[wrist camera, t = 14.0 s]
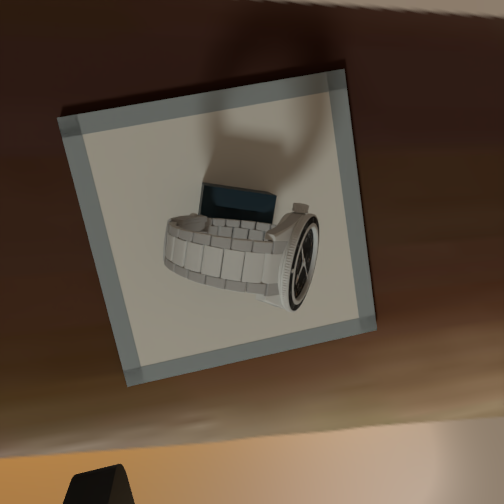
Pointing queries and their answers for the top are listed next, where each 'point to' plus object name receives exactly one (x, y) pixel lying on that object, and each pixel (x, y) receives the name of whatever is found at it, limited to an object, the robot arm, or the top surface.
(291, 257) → the watch
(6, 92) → the top surface
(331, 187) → the mat
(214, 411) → the top surface
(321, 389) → the top surface
